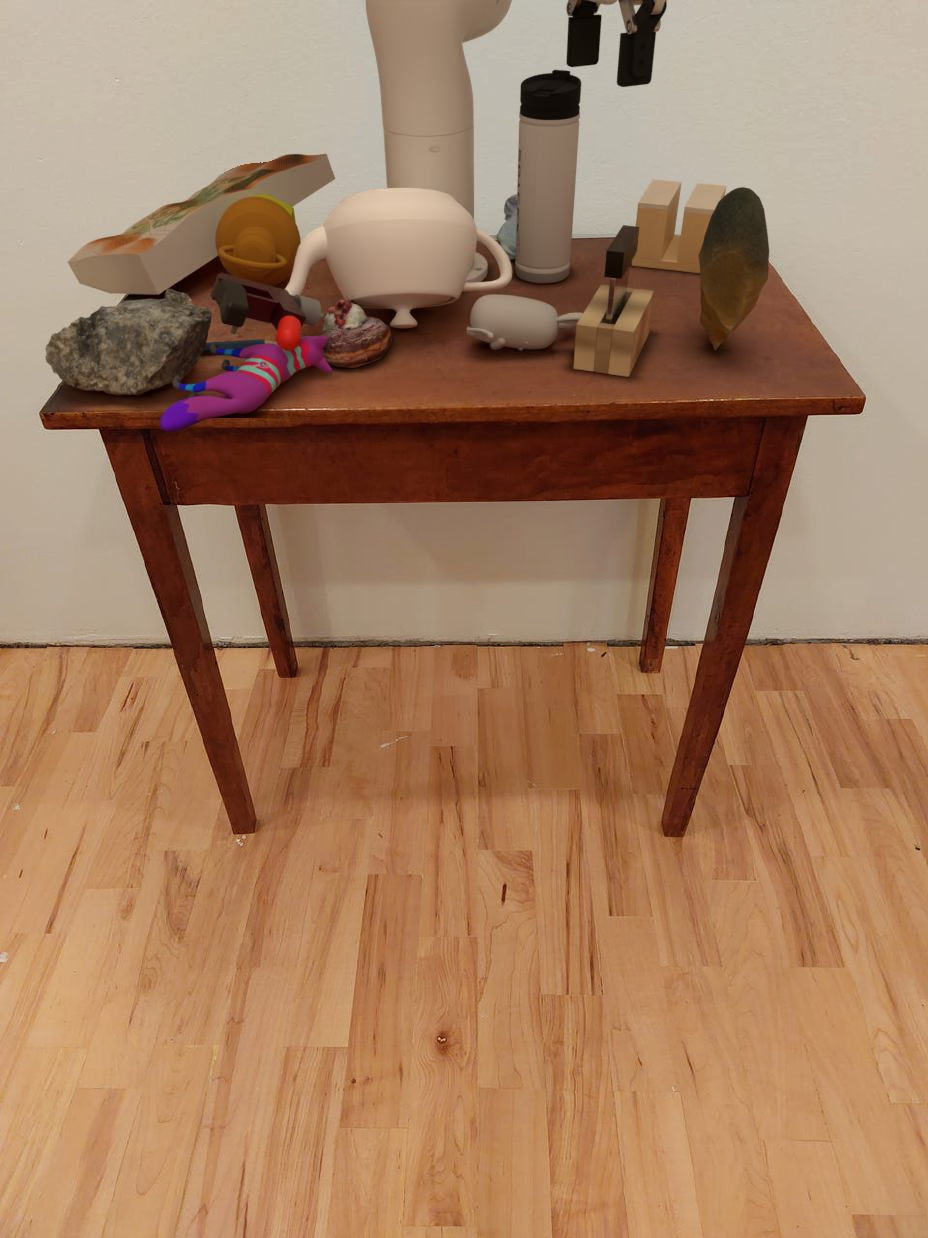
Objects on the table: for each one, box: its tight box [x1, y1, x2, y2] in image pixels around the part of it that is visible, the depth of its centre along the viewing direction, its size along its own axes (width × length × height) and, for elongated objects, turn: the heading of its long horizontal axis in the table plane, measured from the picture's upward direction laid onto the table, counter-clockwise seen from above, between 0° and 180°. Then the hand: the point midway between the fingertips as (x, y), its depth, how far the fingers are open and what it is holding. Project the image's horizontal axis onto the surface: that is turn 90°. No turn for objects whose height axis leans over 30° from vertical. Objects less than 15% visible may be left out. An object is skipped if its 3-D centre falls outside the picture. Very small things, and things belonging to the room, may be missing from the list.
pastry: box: [316, 296, 393, 369], centre depth 89 cm, size 8×8×5 cm
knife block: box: [572, 284, 655, 378], centre depth 89 cm, size 10×5×4 cm, turn 161°
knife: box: [603, 224, 639, 325], centre depth 87 cm, size 7×2×11 cm, turn 161°
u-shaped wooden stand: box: [630, 179, 727, 274], centre depth 107 cm, size 9×9×7 cm
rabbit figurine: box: [465, 293, 584, 351], centre depth 90 cm, size 6×5×12 cm
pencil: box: [202, 338, 277, 354], centre depth 91 cm, size 1×1×15 cm
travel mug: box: [514, 69, 582, 285], centre depth 99 cm, size 6×7×20 cm
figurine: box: [496, 193, 517, 261], centre depth 111 cm, size 8×12×7 cm, turn 171°
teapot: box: [284, 187, 513, 329], centre depth 92 cm, size 25×16×12 cm
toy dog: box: [159, 335, 333, 432], centre depth 83 cm, size 4×18×10 cm
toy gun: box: [209, 272, 325, 351], centre depth 84 cm, size 10×12×5 cm
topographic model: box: [67, 153, 336, 295], centre depth 108 cm, size 30×14×5 cm, turn 145°
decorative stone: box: [698, 186, 770, 351], centre depth 85 cm, size 10×6×15 cm, turn 4°
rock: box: [44, 288, 213, 397], centre depth 85 cm, size 14×10×10 cm
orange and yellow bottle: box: [215, 194, 302, 287], centre depth 102 cm, size 9×9×25 cm
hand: (606, 74), depth 85 cm, fingers open, 9 cm apart
